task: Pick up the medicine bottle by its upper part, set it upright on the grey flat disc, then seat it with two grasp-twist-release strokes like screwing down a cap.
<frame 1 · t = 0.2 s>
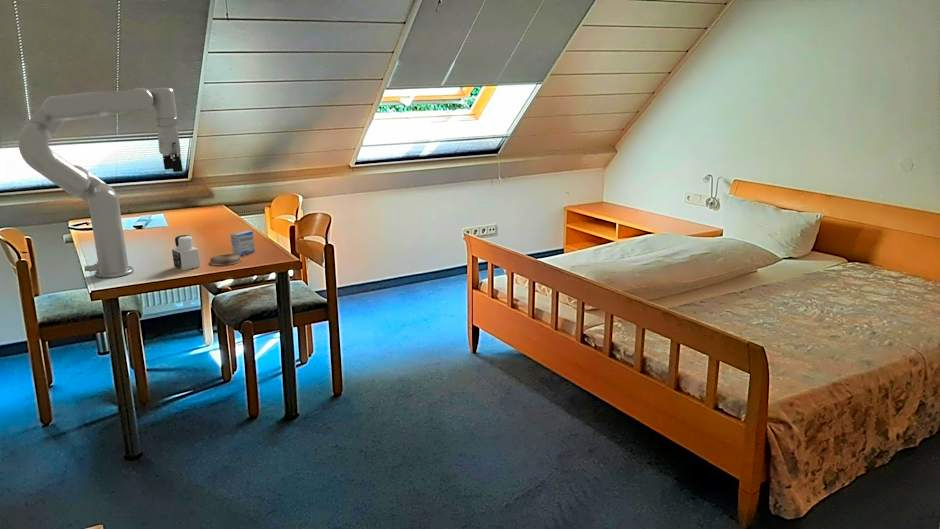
hand: (173, 170, 256), 36 cm above the table, tool pointing down, fingers open, 9 cm apart
medicine bottle: (187, 267, 261), on the table
medicine box: (244, 254, 279), on the table
grey flat disc: (225, 261, 268), on the table
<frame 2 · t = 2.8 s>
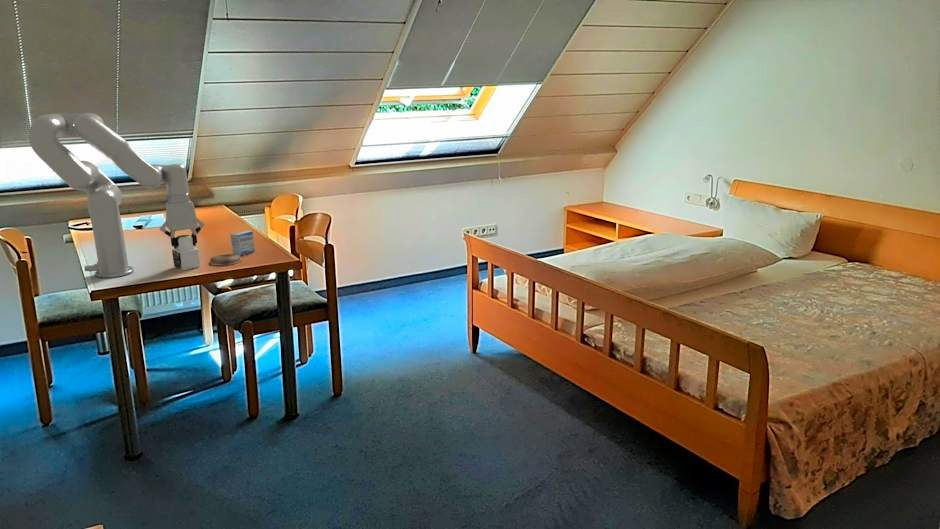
hand: (184, 246, 258), 8 cm above the table, tool pointing down, fingers closed on medicine bottle, 6 cm apart
medicine bottle: (187, 267, 261), on the table, touching gripper
everything else where it was.
when the fingers open (10 cm above the table, at t = 8.0 s): medicine bottle stays where it is, resting on grey flat disc.
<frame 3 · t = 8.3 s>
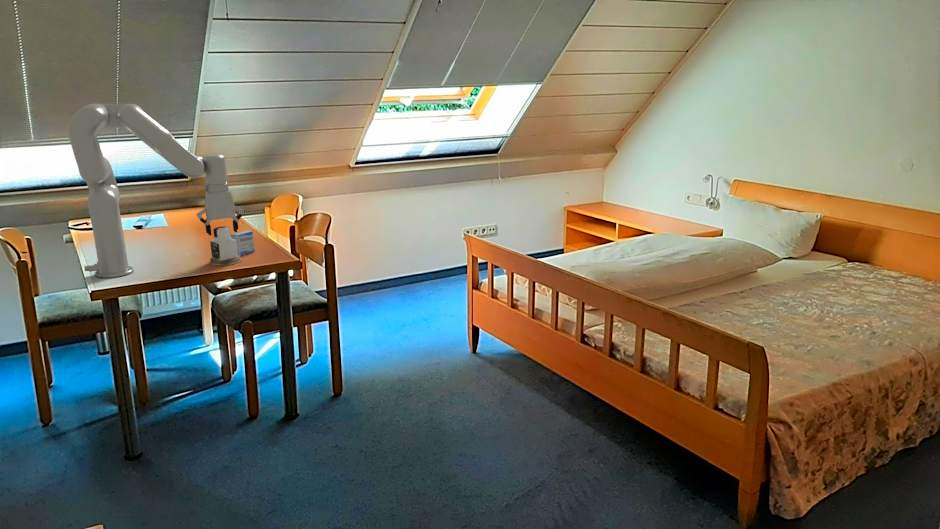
hand: (222, 233, 264), 11 cm above the table, tool pointing down, fingers open, 9 cm apart
medicine bottle: (225, 258, 267), point 1 cm above the table, touching grey flat disc
everything else where it was.
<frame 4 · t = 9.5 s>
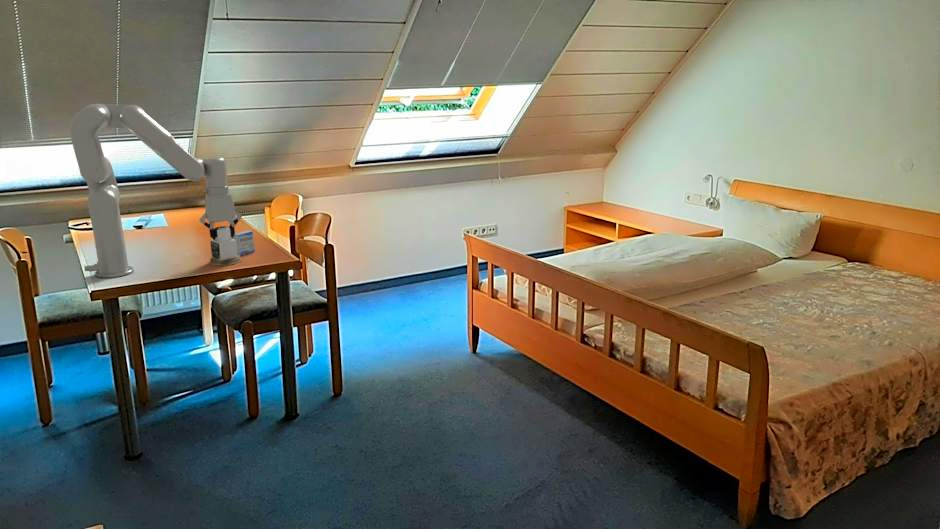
hand: (222, 237, 265), 10 cm above the table, tool pointing down, fingers closed on medicine bottle, 6 cm apart
medicine bottle: (224, 258, 267), point 1 cm above the table, touching gripper, grey flat disc
everything else where it was.
when the fingers open (10 cm above the table, at t = 10.7 s): medicine bottle stays where it is, resting on grey flat disc.
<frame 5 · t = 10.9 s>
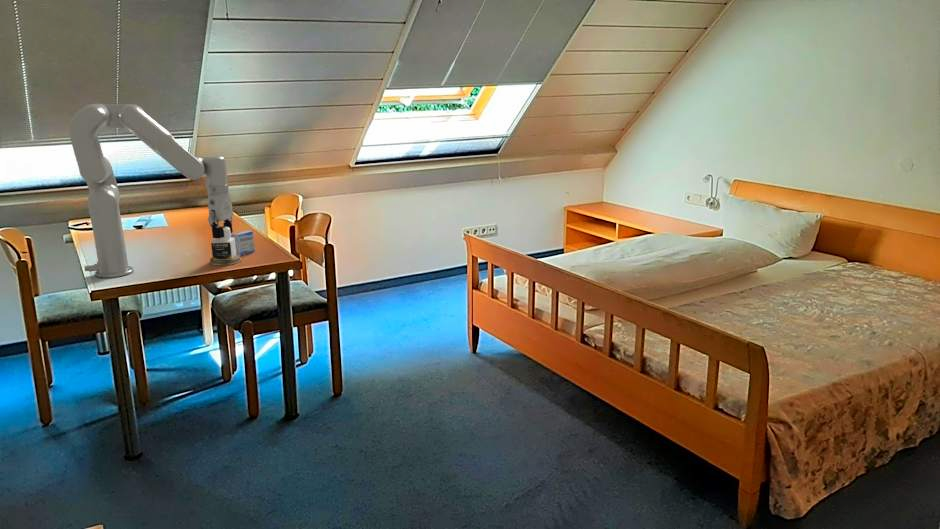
hand: (222, 235, 265), 10 cm above the table, tool pointing down, fingers open, 8 cm apart
medicine bottle: (225, 258, 267), point 1 cm above the table, touching grey flat disc
everything else where it was.
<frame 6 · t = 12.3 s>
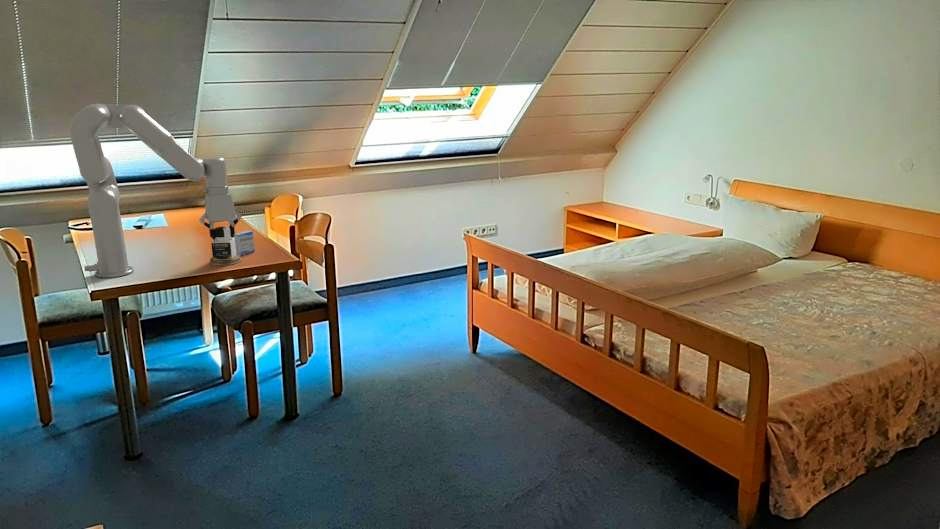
hand: (222, 237, 265), 10 cm above the table, tool pointing down, fingers closed on medicine bottle, 6 cm apart
medicine bottle: (225, 258, 267), point 1 cm above the table, touching gripper, grey flat disc
everything else where it was.
when the fingers open (10 cm above the table, at t = 13.4 s): medicine bottle stays where it is, resting on grey flat disc.
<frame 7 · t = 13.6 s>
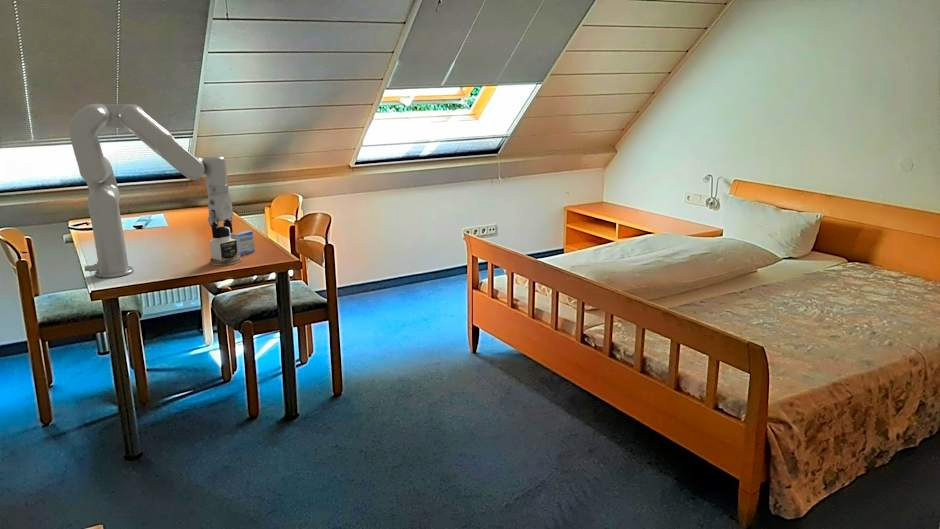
hand: (222, 235, 265), 10 cm above the table, tool pointing down, fingers open, 8 cm apart
medicine bottle: (224, 258, 267), point 1 cm above the table, touching grey flat disc
everything else where it was.
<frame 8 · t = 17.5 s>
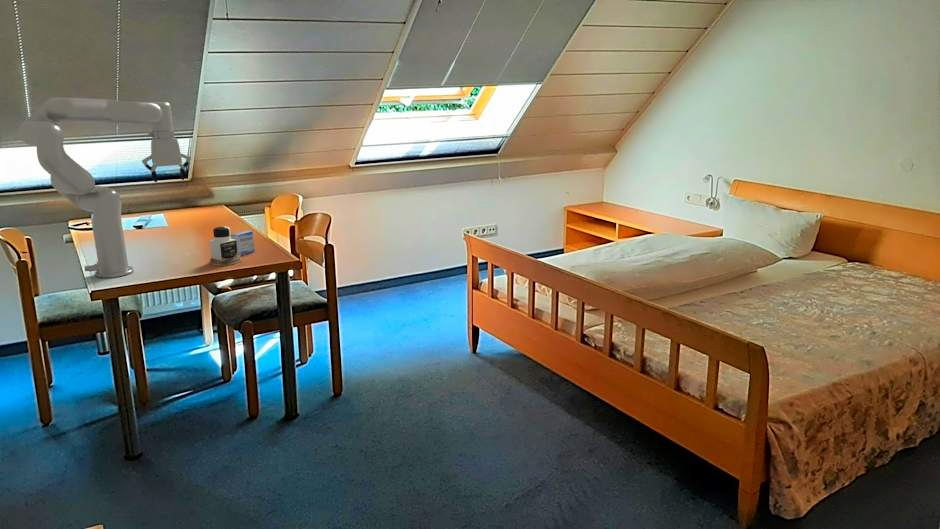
hand: (169, 180, 267), 30 cm above the table, tool pointing down, fingers open, 9 cm apart
nothing on the table moved.
at the end: medicine bottle 0.3 cm from the grey flat disc (horizontally); medicine bottle tilted 0°; the gripper is holding nothing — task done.
